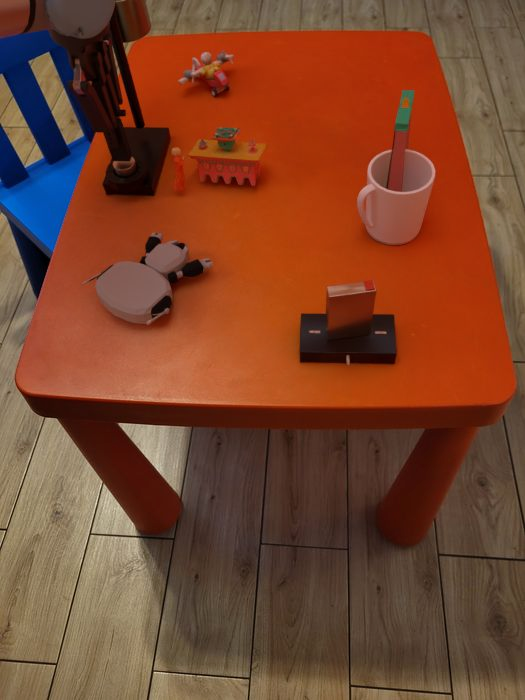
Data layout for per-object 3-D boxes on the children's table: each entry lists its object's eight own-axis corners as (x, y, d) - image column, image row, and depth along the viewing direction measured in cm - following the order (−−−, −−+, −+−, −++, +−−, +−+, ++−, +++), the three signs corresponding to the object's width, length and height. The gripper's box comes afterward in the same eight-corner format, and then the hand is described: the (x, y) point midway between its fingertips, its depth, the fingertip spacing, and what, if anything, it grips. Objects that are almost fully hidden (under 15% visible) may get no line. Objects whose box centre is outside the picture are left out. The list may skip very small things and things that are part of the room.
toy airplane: (229, 100, 109) (225, 66, 103) (180, 99, 110) (173, 66, 105) (237, 69, 114) (233, 36, 108) (189, 69, 115) (184, 36, 109)
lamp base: (152, 203, 96) (146, 183, 93) (103, 201, 97) (96, 182, 94) (171, 138, 104) (166, 118, 101) (126, 137, 105) (119, 117, 102)
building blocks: (398, 214, 87) (410, 116, 77) (169, 194, 94) (153, 102, 85) (405, 173, 96) (417, 80, 86) (195, 157, 103) (184, 70, 93)
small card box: (327, 340, 77) (328, 295, 69) (325, 330, 78) (326, 284, 70) (370, 334, 77) (376, 289, 69) (367, 324, 78) (373, 278, 70)
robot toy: (157, 242, 92) (85, 304, 86) (152, 219, 89) (76, 282, 82) (220, 277, 88) (149, 344, 81) (217, 254, 84) (143, 323, 77)
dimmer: (299, 374, 77) (299, 364, 75) (301, 313, 83) (301, 301, 80) (395, 376, 76) (397, 365, 74) (391, 313, 81) (393, 301, 79)
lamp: (160, 129, 100) (131, 12, 84) (118, 128, 100) (81, 12, 84) (171, 91, 105) (146, -25, 89) (131, 91, 106) (99, -24, 90)
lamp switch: (134, 179, 94) (131, 170, 93) (113, 178, 94) (110, 169, 93) (139, 164, 96) (136, 155, 94) (118, 163, 96) (115, 154, 95)
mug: (401, 196, 93) (410, 140, 84) (435, 233, 89) (449, 178, 80) (338, 223, 91) (341, 168, 82) (371, 262, 86) (377, 209, 78)
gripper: (86, 31, 69) (136, 188, 89) (114, -28, 76) (155, 130, 96) (24, 31, 70) (87, 187, 90) (57, -27, 77) (109, 129, 97)
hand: (122, 157), depth 93 cm, fingers closed
